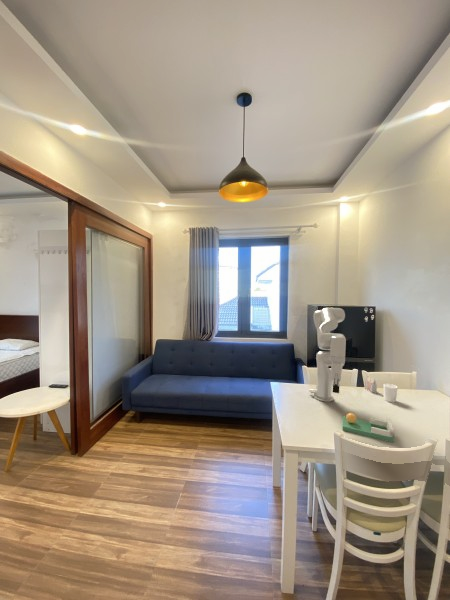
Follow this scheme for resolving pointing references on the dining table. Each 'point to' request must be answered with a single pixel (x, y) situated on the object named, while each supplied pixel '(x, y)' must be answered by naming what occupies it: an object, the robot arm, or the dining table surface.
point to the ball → (351, 418)
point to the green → (371, 428)
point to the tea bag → (371, 384)
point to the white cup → (390, 392)
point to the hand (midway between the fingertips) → (335, 391)
